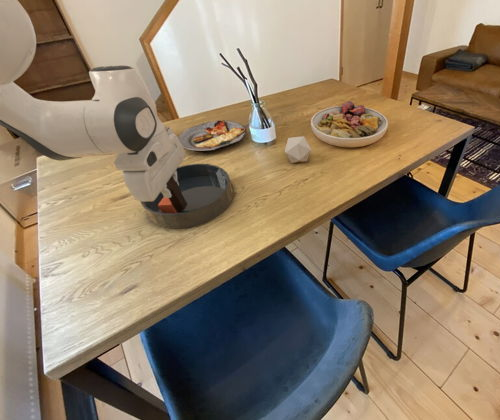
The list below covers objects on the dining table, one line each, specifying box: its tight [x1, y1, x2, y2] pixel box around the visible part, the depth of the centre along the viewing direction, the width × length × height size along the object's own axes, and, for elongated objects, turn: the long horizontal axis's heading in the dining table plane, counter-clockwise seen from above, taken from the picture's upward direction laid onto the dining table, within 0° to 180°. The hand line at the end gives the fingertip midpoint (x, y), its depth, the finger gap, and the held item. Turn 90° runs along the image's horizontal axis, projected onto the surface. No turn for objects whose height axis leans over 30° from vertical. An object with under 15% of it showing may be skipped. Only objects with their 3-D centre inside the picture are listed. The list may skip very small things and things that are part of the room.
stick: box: [166, 176, 187, 210], centre depth 70 cm, size 2×2×14 cm
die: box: [284, 135, 312, 164], centre depth 93 cm, size 8×9×10 cm
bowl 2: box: [310, 100, 389, 148], centre depth 108 cm, size 30×30×8 cm
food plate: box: [178, 119, 247, 151], centre depth 106 cm, size 25×23×4 cm
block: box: [158, 197, 178, 213], centre depth 74 cm, size 4×4×4 cm
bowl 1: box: [140, 163, 234, 230], centre depth 79 cm, size 23×23×5 cm
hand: (172, 191), depth 71 cm, fingers closed on stick, 2 cm apart
